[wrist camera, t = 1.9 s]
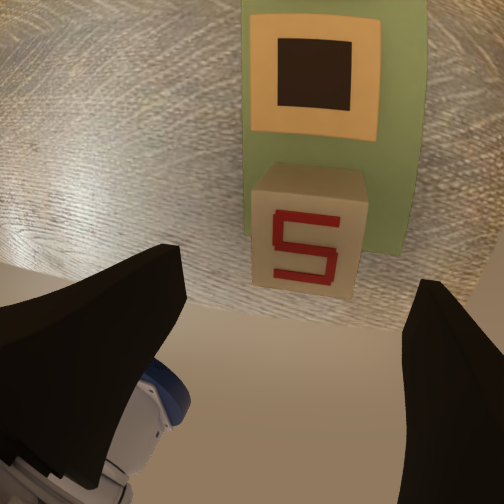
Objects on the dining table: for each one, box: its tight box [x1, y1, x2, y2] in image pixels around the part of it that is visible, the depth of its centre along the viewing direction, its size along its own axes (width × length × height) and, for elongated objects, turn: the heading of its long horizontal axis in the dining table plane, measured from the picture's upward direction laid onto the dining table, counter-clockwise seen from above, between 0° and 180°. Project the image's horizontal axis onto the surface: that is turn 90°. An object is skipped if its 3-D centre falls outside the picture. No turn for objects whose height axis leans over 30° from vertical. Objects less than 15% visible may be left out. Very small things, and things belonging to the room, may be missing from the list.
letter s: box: [251, 162, 369, 299], centre depth 13 cm, size 4×4×4 cm
